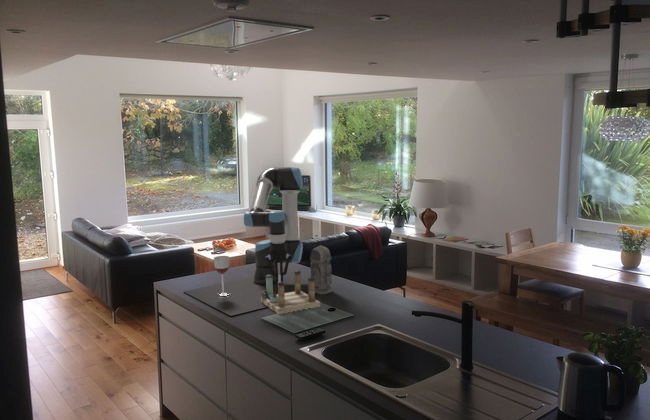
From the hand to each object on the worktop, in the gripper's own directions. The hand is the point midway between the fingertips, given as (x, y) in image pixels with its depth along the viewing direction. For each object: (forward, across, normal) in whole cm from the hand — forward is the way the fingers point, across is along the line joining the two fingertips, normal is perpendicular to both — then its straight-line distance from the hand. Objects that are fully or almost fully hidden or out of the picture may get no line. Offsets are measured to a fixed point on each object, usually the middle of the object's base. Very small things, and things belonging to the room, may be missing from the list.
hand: (279, 288), depth 273 cm
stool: (+7, -4, +5) cm, 10 cm away
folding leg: (+4, +4, +4) cm, 7 cm away
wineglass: (+7, +28, -18) cm, 34 cm away
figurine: (+8, -23, -14) cm, 28 cm away
